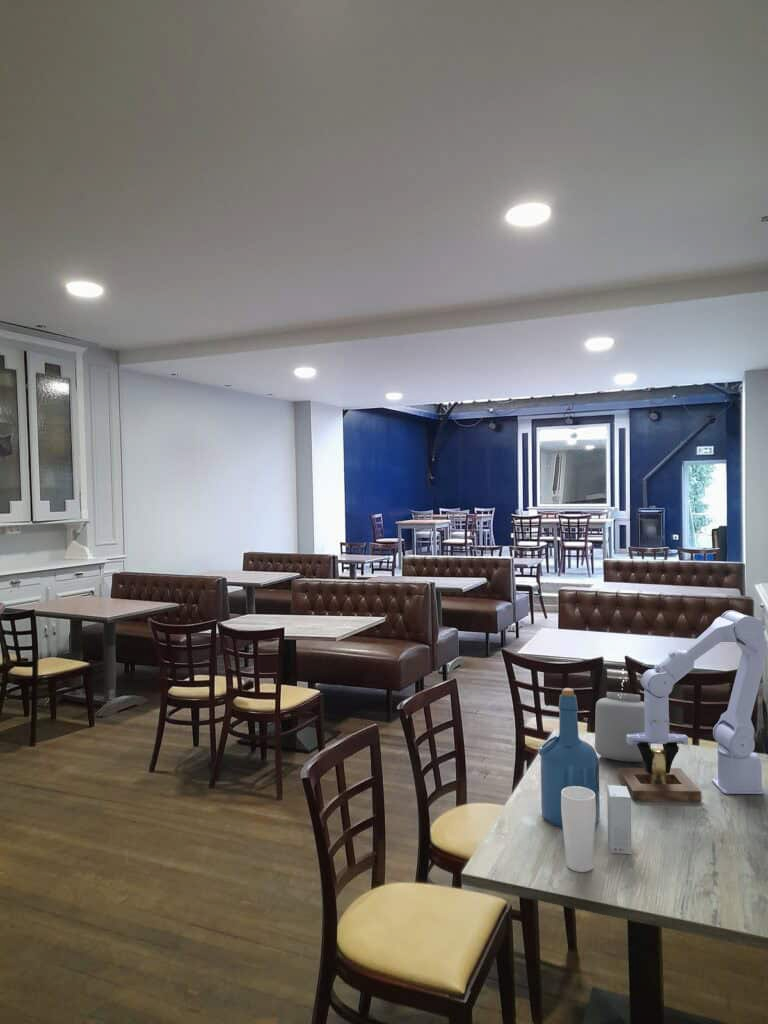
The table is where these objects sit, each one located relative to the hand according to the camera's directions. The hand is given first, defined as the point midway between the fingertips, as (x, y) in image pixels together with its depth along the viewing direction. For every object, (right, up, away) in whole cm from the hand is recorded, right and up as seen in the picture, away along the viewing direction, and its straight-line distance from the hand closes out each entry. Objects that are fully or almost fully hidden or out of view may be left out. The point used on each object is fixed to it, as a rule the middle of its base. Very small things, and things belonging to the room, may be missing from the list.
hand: (657, 771), depth 173 cm
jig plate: (0, -4, 0) cm, 4 cm away
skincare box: (-19, -6, -28) cm, 34 cm away
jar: (-1, -4, +20) cm, 21 cm away
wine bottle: (-26, -6, -14) cm, 30 cm away
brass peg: (0, -3, 0) cm, 3 cm away
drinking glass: (-30, -6, -35) cm, 46 cm away
